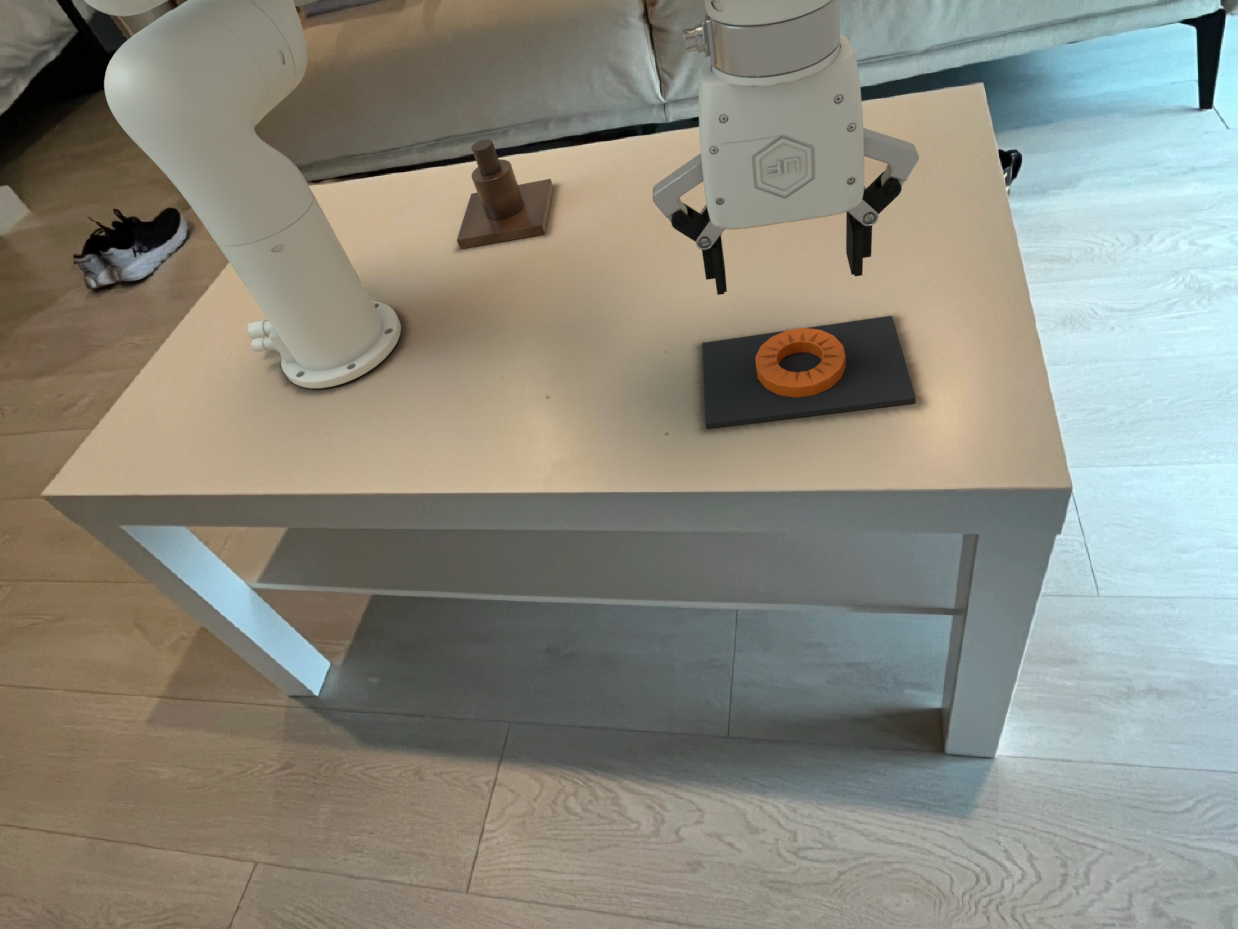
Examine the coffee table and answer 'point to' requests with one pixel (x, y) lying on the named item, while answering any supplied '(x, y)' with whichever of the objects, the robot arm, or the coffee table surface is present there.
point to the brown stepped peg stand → (502, 202)
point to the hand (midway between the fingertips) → (786, 274)
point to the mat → (864, 383)
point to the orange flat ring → (807, 380)
